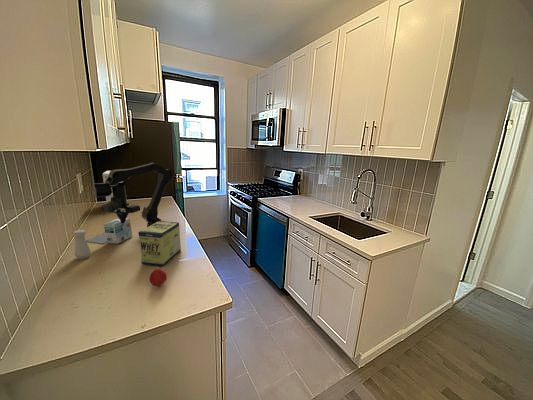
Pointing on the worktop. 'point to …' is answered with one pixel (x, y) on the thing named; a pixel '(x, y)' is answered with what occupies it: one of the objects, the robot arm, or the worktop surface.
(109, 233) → the light bulb box
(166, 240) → the protein box
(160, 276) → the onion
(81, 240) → the salt shaker
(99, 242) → the mat
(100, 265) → the worktop surface
